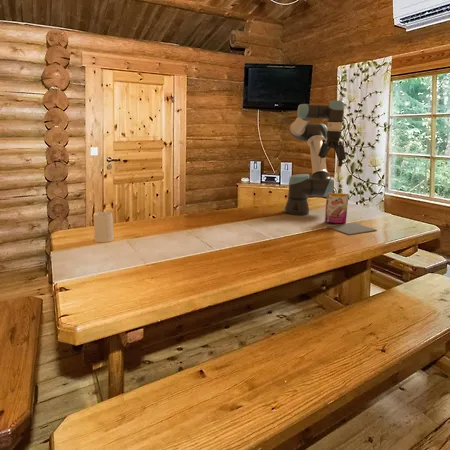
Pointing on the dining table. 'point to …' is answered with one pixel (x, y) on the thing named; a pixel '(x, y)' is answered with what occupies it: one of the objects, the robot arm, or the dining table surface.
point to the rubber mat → (351, 228)
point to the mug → (103, 227)
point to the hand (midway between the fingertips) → (330, 171)
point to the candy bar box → (336, 208)
